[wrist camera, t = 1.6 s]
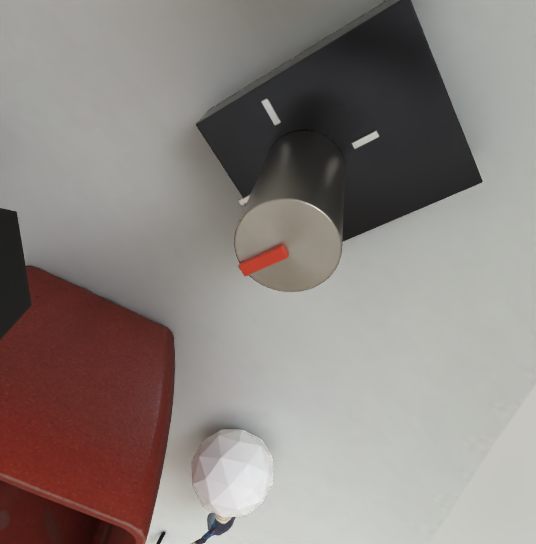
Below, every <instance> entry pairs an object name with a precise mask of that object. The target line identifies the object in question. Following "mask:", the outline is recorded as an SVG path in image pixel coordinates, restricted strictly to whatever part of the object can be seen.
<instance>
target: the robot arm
mask: <svg viewBox="0 0 536 544" xmlns="http://www.w3.org/2000/svg"><path fill="white" fill-rule="evenodd" d="M31 306H32V303H31V297H30V291H29V285H28V279H27V273H26V266H25V260H24V254H23V248H22V242H21V236H20V230H19V224H18V217H17V212H16V211H11V210H6V209H1V208H0V340H1V339H2V337H3V336H4V335H5V334H6V333H7V332H8V331H9V330H10V329H11V328H12V326H13V325H14V324H15V323H16V322H17V321H18V320H19V319H20V318H21V317H22V316H23V314H24V313H25V312H26V311H27V310H28V309H29V308H30V307H31Z"/></svg>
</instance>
